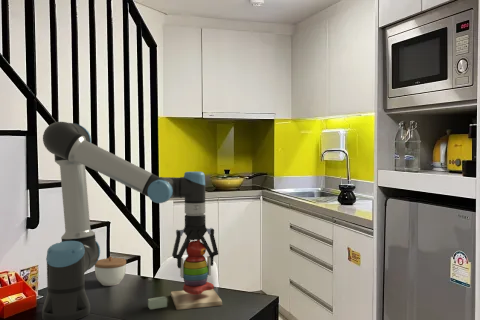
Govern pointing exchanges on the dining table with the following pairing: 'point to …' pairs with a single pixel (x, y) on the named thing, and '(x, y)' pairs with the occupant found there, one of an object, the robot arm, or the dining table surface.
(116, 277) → the lidded bowl
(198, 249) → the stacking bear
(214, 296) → the birch board
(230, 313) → the dining table surface
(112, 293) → the dining table surface
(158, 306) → the sage brick
